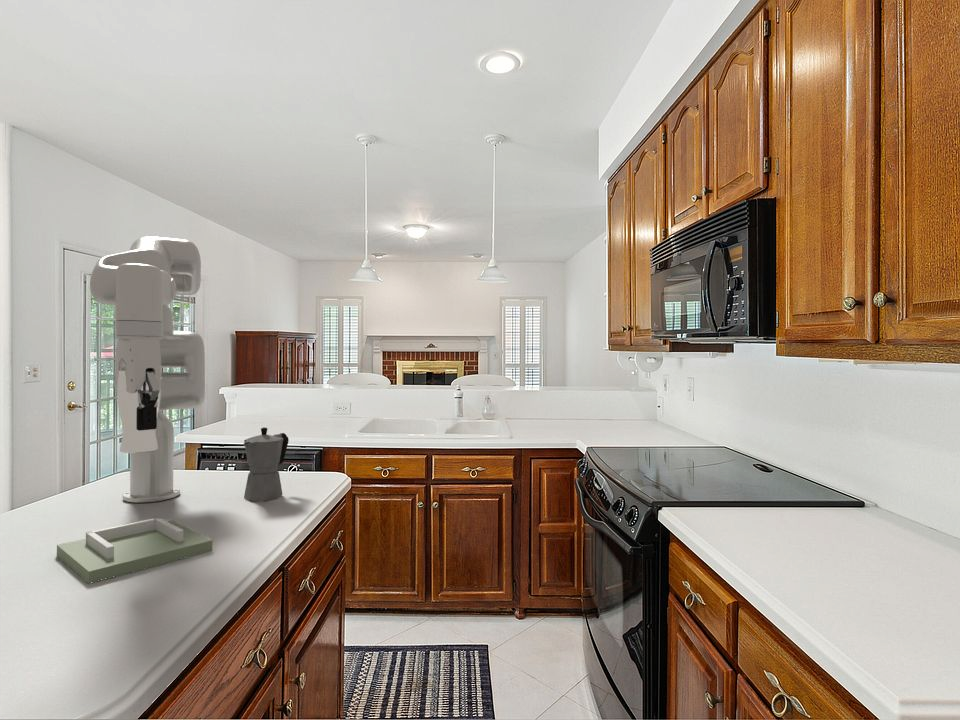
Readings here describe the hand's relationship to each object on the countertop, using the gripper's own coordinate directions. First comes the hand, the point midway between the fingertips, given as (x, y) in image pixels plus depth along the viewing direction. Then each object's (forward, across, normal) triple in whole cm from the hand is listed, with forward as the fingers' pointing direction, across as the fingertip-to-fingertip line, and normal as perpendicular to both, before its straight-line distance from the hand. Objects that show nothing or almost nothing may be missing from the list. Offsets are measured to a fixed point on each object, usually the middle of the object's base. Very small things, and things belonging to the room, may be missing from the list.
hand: (138, 426), depth 104 cm
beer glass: (+5, 0, 0) cm, 5 cm away
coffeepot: (+24, -19, +37) cm, 48 cm away
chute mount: (+24, 0, 0) cm, 24 cm away
